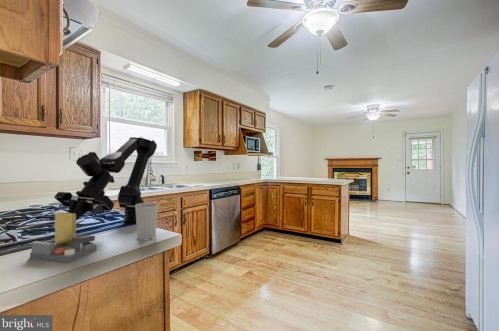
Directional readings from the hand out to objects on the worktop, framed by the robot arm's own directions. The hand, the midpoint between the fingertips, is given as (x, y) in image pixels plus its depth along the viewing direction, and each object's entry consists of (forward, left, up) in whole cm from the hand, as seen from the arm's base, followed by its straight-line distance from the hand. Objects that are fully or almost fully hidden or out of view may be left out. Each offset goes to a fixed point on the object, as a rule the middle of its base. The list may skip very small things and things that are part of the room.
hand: (68, 223), depth 77 cm
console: (+5, 0, -8) cm, 9 cm away
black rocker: (+5, +5, -4) cm, 8 cm away
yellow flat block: (+1, -1, -6) cm, 6 cm away
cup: (-3, +23, -8) cm, 25 cm away
